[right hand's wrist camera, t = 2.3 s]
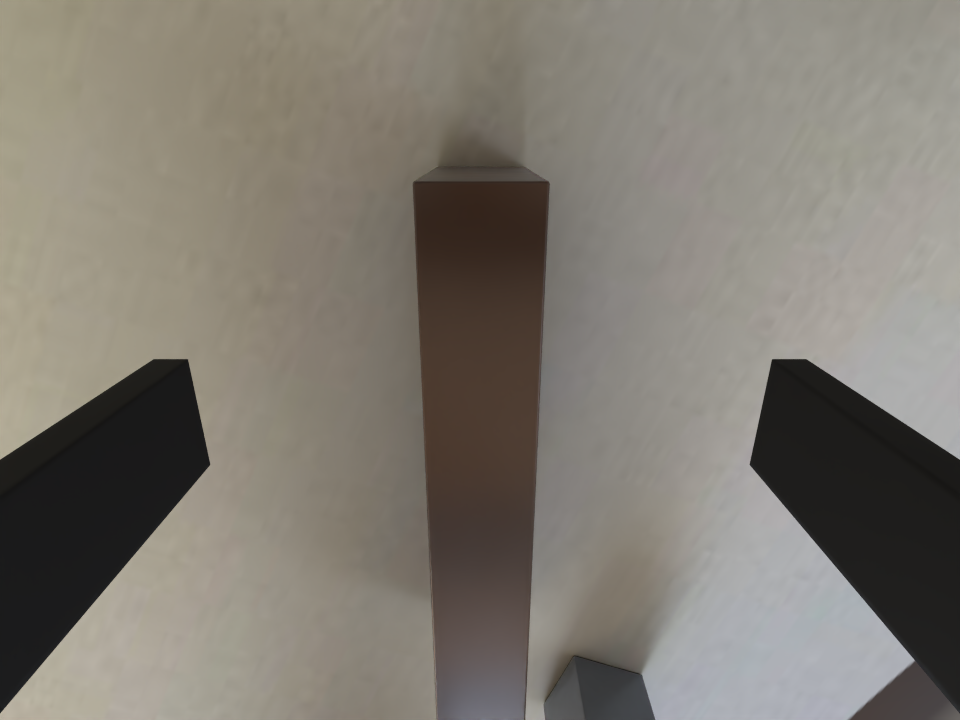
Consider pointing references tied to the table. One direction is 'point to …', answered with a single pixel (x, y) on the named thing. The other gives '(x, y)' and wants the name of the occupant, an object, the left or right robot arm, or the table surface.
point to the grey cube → (598, 694)
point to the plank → (481, 424)
